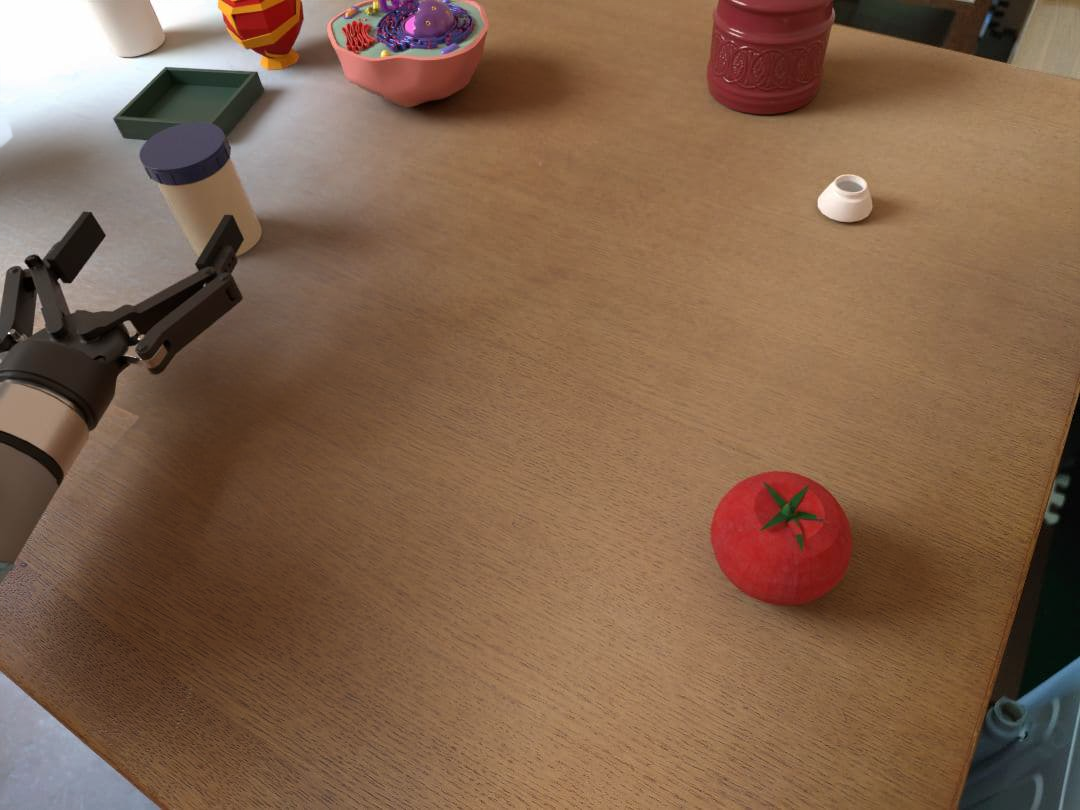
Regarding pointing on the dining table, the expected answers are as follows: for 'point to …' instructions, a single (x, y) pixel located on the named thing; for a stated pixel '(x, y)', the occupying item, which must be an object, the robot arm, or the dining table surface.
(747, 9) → the kitchen canister
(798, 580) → the tomato
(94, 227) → the robot arm
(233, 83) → the lid tray
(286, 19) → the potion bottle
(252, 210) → the jam jar
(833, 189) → the lidless jar
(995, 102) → the dining table surface
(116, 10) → the milk bottle
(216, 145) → the jam lid
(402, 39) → the cell model
